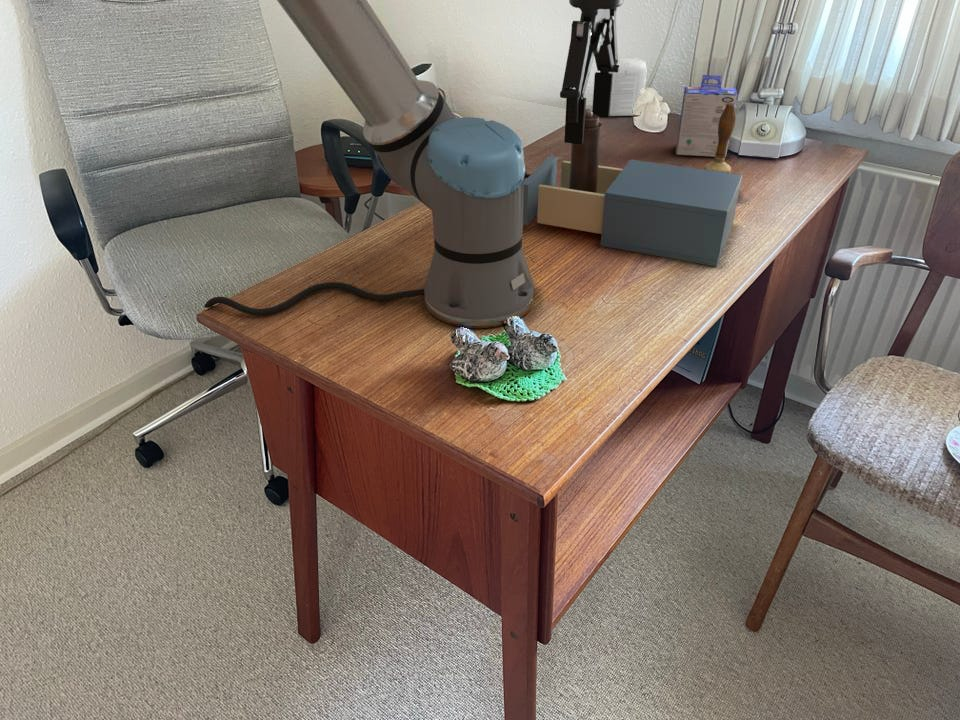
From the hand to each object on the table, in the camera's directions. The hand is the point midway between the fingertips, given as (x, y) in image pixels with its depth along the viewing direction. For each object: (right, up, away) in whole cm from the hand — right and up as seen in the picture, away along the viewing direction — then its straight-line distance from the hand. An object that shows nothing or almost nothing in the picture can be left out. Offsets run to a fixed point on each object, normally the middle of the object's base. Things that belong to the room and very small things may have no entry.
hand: (587, 128), depth 112 cm
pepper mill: (0, -11, +8) cm, 13 cm away
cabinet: (+13, -16, +4) cm, 21 cm away
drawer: (-2, -11, +9) cm, 15 cm away
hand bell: (+25, -7, +17) cm, 30 cm away
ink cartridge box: (+28, +6, +34) cm, 44 cm away
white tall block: (+15, +21, +55) cm, 61 cm away
